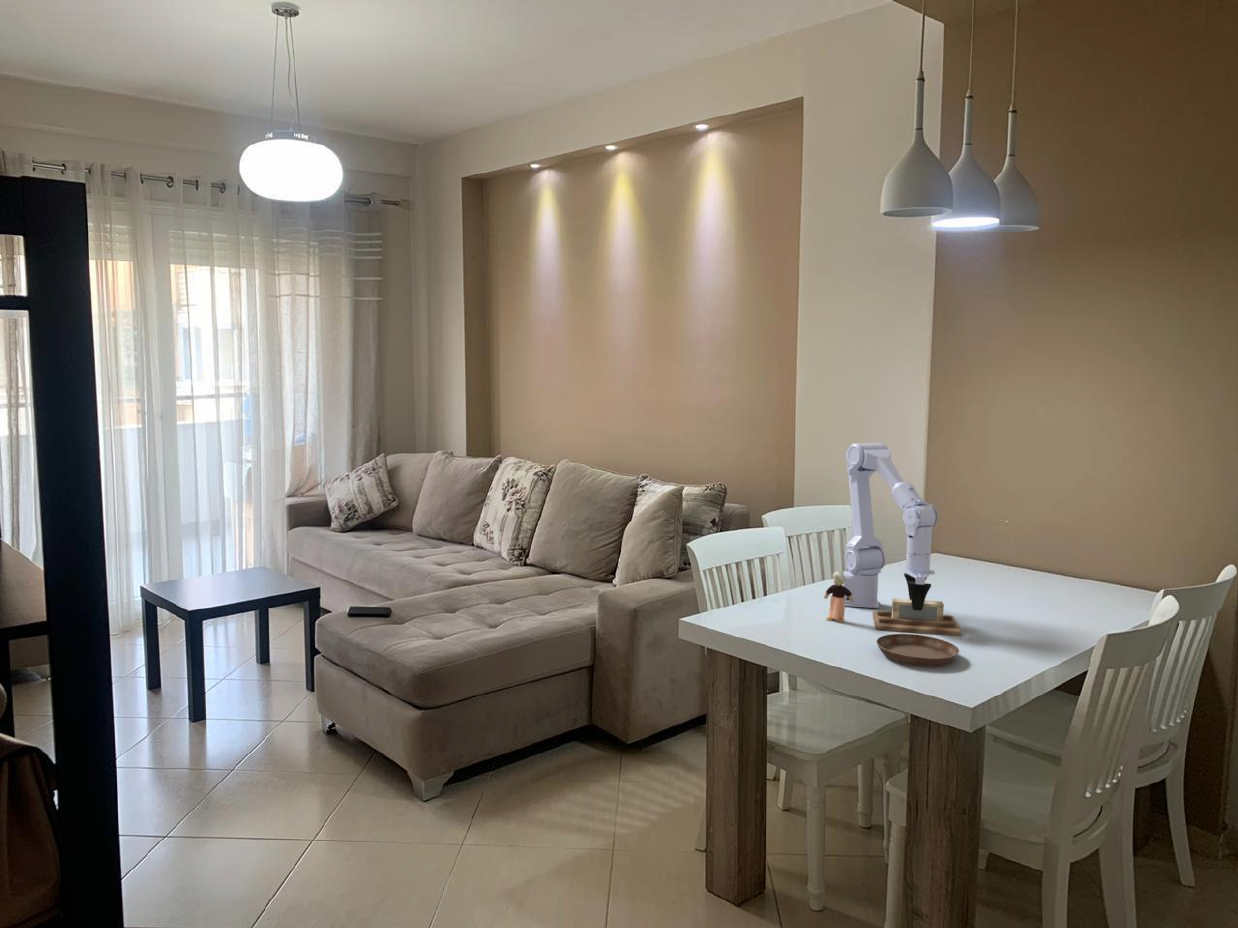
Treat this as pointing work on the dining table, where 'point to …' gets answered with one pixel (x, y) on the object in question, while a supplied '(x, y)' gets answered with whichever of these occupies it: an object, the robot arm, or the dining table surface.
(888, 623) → the picture ledge
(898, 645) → the plant saucer
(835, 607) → the grandmother figurine
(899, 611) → the beige long rectangular block
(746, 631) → the dining table surface
